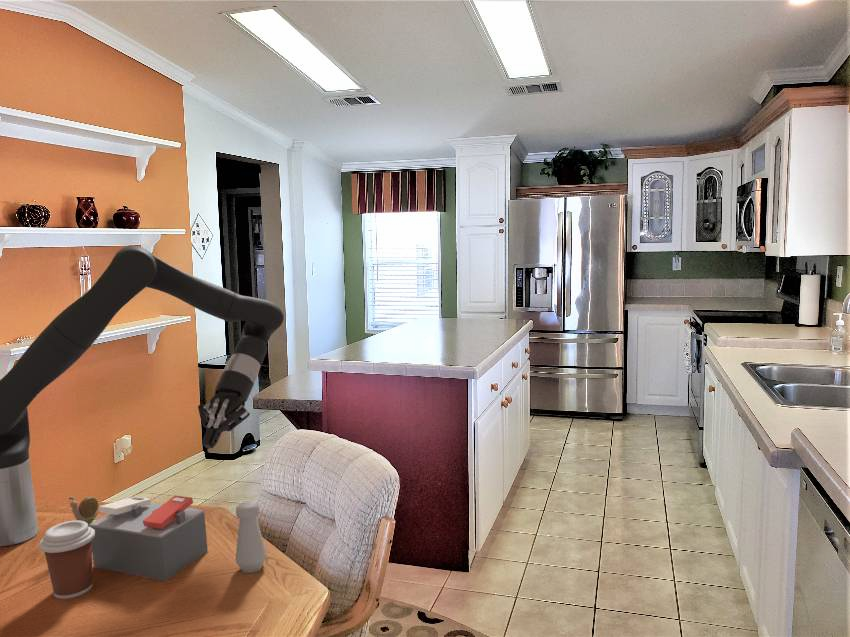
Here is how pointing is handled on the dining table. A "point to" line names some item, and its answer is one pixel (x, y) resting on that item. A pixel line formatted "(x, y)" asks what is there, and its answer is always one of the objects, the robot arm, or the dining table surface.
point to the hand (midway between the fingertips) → (207, 446)
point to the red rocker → (167, 512)
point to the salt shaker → (249, 539)
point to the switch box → (148, 542)
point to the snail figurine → (85, 509)
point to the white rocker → (124, 505)
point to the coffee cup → (69, 558)
